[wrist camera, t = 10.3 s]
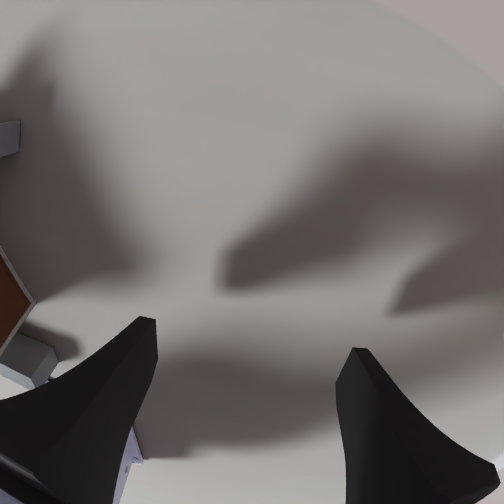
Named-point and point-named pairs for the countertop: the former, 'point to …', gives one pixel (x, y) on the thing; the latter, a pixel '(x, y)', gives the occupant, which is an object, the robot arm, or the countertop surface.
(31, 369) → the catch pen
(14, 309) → the food container
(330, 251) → the countertop surface
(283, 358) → the countertop surface
